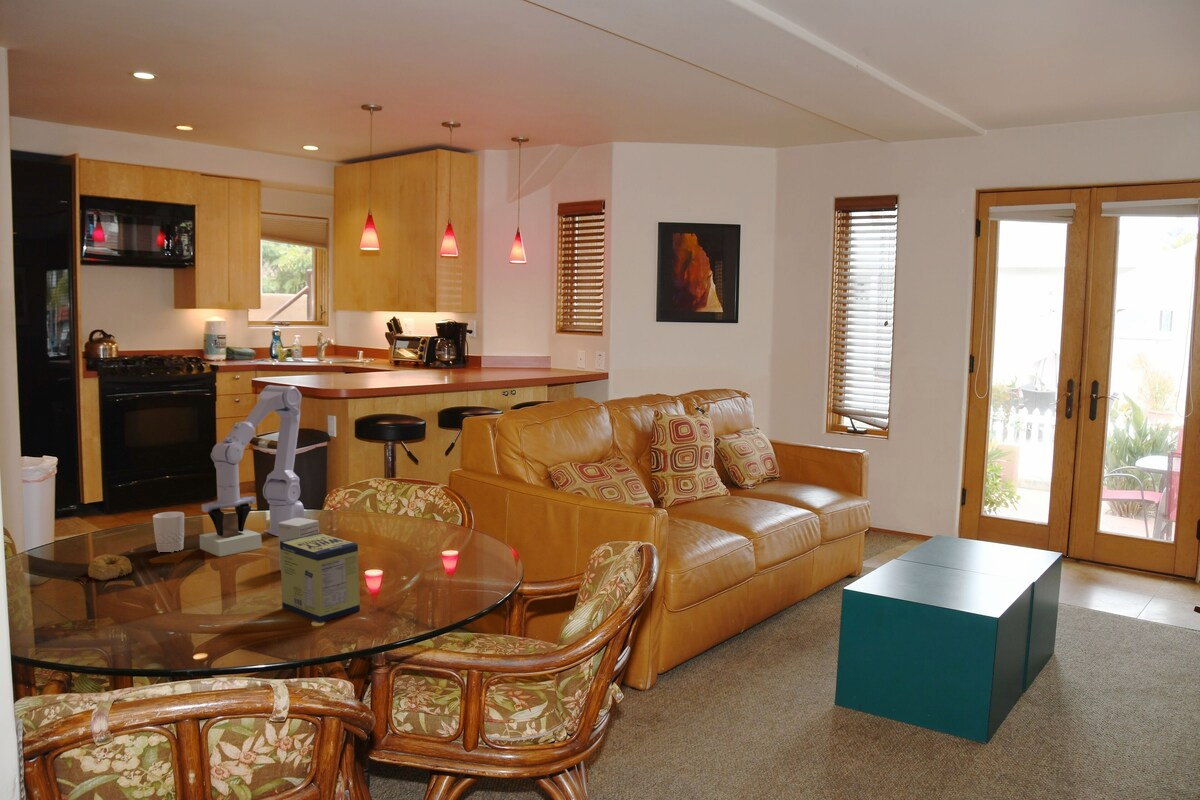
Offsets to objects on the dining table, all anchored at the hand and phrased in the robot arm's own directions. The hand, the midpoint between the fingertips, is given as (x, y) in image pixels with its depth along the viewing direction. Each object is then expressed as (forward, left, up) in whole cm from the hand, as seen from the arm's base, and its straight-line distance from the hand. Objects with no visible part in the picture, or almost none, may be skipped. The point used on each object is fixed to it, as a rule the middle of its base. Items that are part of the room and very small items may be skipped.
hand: (230, 533), depth 252 cm
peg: (0, 0, -2) cm, 2 cm away
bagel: (+32, +1, -5) cm, 32 cm away
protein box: (+10, +64, -5) cm, 65 cm away
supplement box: (-3, +32, -5) cm, 32 cm away
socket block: (0, 0, -4) cm, 4 cm away
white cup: (+12, -11, -5) cm, 17 cm away
